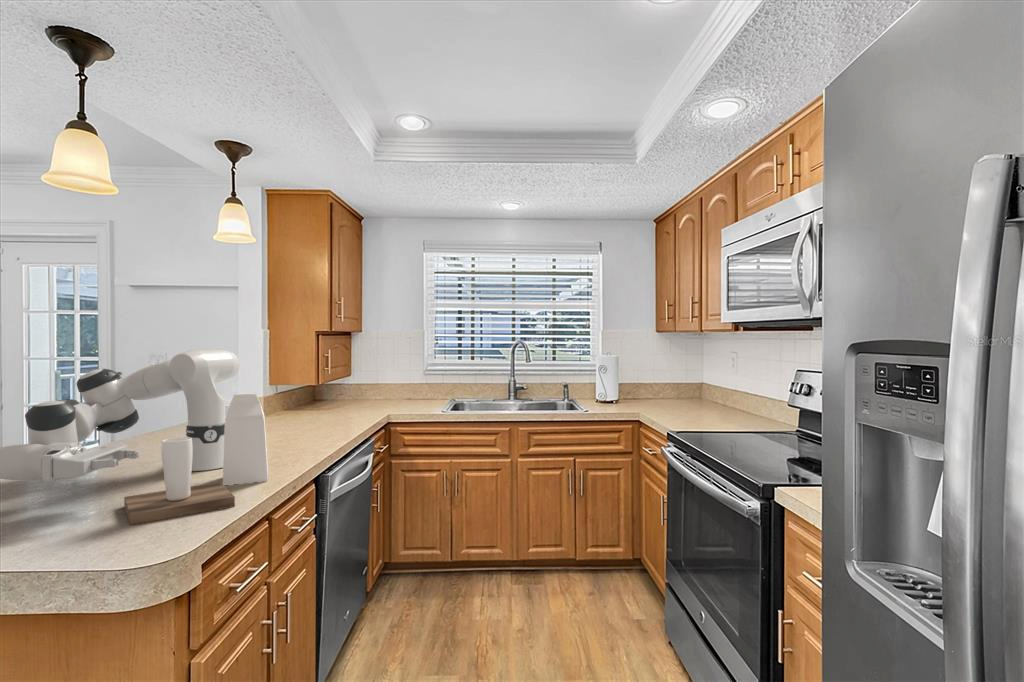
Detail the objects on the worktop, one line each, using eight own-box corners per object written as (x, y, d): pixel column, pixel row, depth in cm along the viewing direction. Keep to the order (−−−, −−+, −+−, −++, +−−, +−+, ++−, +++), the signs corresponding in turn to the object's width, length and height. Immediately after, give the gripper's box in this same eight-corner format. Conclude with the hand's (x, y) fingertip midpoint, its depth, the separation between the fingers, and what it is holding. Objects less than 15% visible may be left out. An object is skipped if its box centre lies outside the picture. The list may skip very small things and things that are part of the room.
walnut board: (124, 506, 141) (124, 496, 141) (219, 490, 155) (219, 482, 155) (130, 525, 127) (130, 514, 127) (234, 506, 141) (234, 496, 141)
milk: (222, 486, 160) (221, 396, 160) (225, 476, 170) (224, 393, 170) (267, 481, 165) (266, 394, 164) (268, 472, 175) (267, 391, 175)
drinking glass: (179, 502, 135) (178, 442, 135) (156, 502, 137) (154, 441, 136) (200, 494, 142) (198, 436, 142) (177, 494, 143) (175, 436, 143)
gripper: (93, 463, 148) (148, 461, 149) (38, 484, 127) (103, 481, 129) (92, 439, 147) (148, 438, 149) (38, 456, 127) (103, 454, 129)
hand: (127, 458), depth 139 cm, fingers open, 8 cm apart
